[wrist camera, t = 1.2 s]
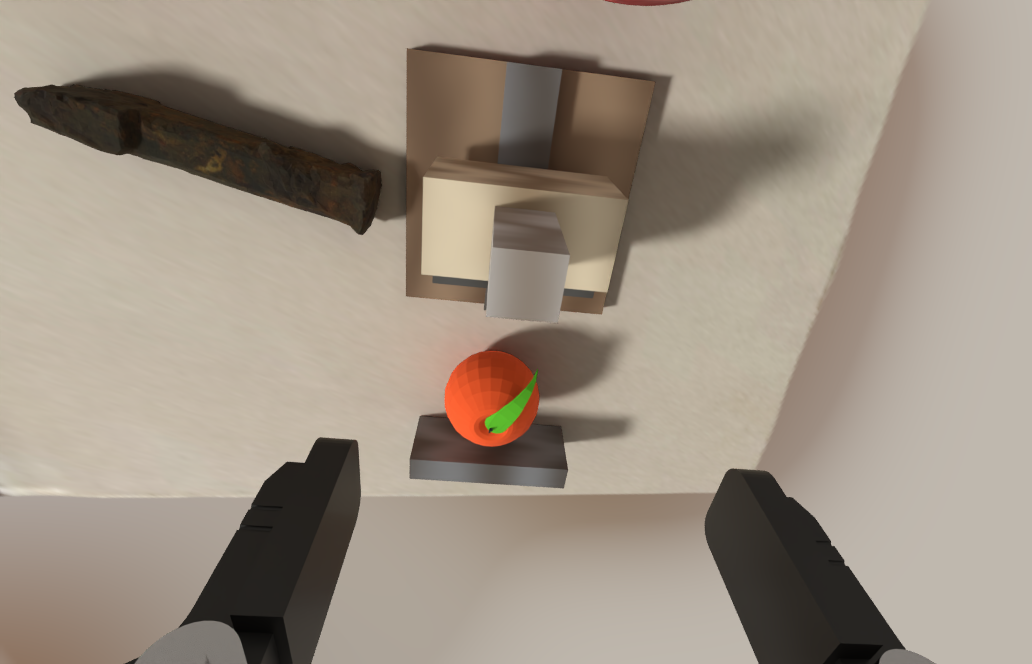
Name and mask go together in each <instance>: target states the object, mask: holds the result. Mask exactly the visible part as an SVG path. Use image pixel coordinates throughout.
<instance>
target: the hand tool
mask: <svg viewBox="0 0 1032 664" xmlns="http://www.w3.org/2000/svg"><path fill="white" fill-rule="evenodd" d="M14 94H15V97H14V98H15V100H16V101H17V103H18V105H19V106H20V107H21V108H23V109H24V110H25V111H26V112H27V113H28V115H29V117H30V119H31V123H33V124H36V125H38V126H41V127H44V128H46V129H49V130H51V131H53V132H56V133H58V134H60V135H63V136H67V137H69V138H72V139H74V140H76V141H78V142H81V143H83V144H85V145H87V146H89V147H92V148H94V149H97V150H100V151H102V152H106V153H110V154H115V155H123V154H131V155H135V156H138V157H141V158H143V159H146V160H150V161H154V162H157V163H161V164H164V165H167V166H171V167H174V168H178V169H181V170H184V171H186V172H189V173H191V174H194V175H197V176H200V177H203V178H206V179H209V180H212V181H215V182H218V183H221V184H223V185H226V186H229V187H232V188H236V189H239V190H242V191H245V192H248V193H251V194H254V195H257V196H260V197H264V198H267V199H270V200H273V201H276V202H279V203H282V204H286V205H288V206H291V207H294V208H298V209H301V210H305V211H308V212H312V213H315V214H318V215H321V216H324V217H328V218H331V219H334V220H337V221H340V222H342V223H344V224H347V225H349V226H351V227H352V228H353V230H354V231H355V232H356V233H358V234H359V235H363V234H364V233H365V232H366V231H367V229H368V228H369V227H370V226H371V224H372V221H373V219H374V216H375V212H376V209H377V205H378V201H379V197H380V191H381V187H382V184H381V172H380V171H379V170H367V171H362V170H361V169H359V168H358V167H356V166H354V165H353V164H351V163H346V164H339V163H336V162H334V161H332V160H329V159H326V158H323V157H320V156H319V155H317V154H314V153H311V152H306V151H304V150H302V149H299V148H296V147H292V146H290V147H286V146H283V145H280V144H277V143H275V142H273V141H270V140H268V139H266V138H261V137H258V136H255V135H251V134H248V133H245V132H242V131H239V130H235V129H232V128H229V127H226V126H223V125H220V124H217V123H214V122H211V121H208V120H205V119H202V118H199V117H196V116H192V115H189V114H186V113H183V112H181V111H178V110H174V109H171V108H168V107H165V106H163V105H162V104H161V103H160V102H159V101H156V100H153V99H149V98H145V97H141V96H137V95H133V94H129V93H124V92H120V91H116V90H112V91H111V90H107V89H105V90H103V89H97V88H91V87H90V88H85V87H83V86H80V85H72V86H70V87H65V86H55V85H48V86H44V87H30V88H22V89H20V90H18V91H17V92H16V93H14Z"/></svg>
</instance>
